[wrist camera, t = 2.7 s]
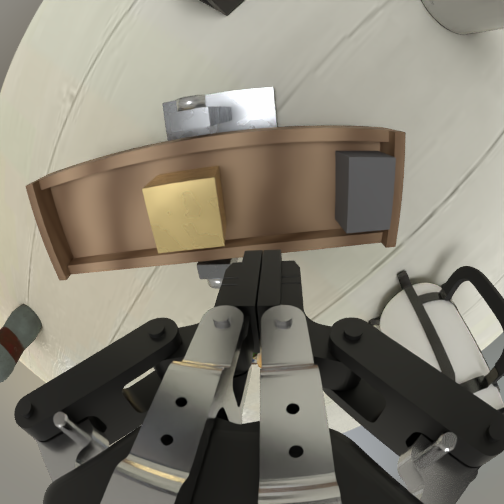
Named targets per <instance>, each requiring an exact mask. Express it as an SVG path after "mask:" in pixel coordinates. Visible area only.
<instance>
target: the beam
mask: <svg viewBox="0 0 504 504" xmlns="http://www.w3.org/2000/svg"><path fill="white" fill-rule="evenodd" d="M335 151H380V152H382V153H385V154H388V155H390V156H393V157H395V158H396V165H395V182H394V195H393V206H392V215H391V223H390V229H389V230H378V231H367V232H357V233H346V232H345V231H344V230H343V228H342V227H341V226H340V225H339V223H338V222H337V221H336V220H335ZM404 162H405V132H401V131H397V130H392V129H388V128H383V127H368V126H289V127H272V128H259V129H248V130H238V131H229V132H221V133H213V134H206V135H200V136H193V137H187V138H182V139H176V140H171V141H166V142H161V143H156V144H151V145H146V146H142V147H138V148H133V149H129V150H125V151H121V152H118V153H114V154H110V155H106V156H103V157H99V158H96V159H93V160H89V161H86V162H83V163H80V164H76V165H73V166H70V167H67V168H64V169H62V170H59V171H56V172H53V173H50V174H48V175H46V176H44V177H42V178H40V179H38V180H36V181H34V182H32V183H30V184H29V185H27V186H26V189H27V193H28V197H29V200H30V204H31V207H32V210H33V213H34V216H35V220H36V222H37V225H38V228H39V231H40V234H41V237H42V239H43V242H44V245H45V247H46V250H47V252H48V255H49V257H50V260H51V262H52V264H53V267H54V269H55V271H56V273H57V276H58V278H59V280H67V279H68V277H69V276H70V275H71V274H79V273H89V272H100V271H110V270H120V269H130V268H140V267H150V266H160V265H170V264H180V263H190V262H200V261H210V260H219V259H229V258H239V257H244V252H245V251H248V250H263V251H264V250H276V249H281V253H287V252H296V251H305V250H315V249H324V248H334V247H343V246H352V245H361V244H370V243H380V242H381V243H382V244H383V245H384V246H385V247H386V248H387V247H395V245H396V239H397V232H398V226H399V218H400V210H401V201H402V191H403V178H404ZM211 166H219V171H220V179H221V186H222V194H223V201H224V208H225V215H226V222H227V226H226V237H225V246H220V247H211V248H202V249H193V250H184V251H175V252H166V253H158V250H157V247H156V243H155V239H154V236H153V232H152V228H151V224H150V220H149V216H148V212H147V208H146V204H145V199H144V195H143V191H142V188H144V187H145V186H146V185H147V184H148V183H149V182H150V181H151V180H153V179H154V178H155V177H156V176H157V175H160V174H166V173H172V172H178V171H184V170H190V169H197V168H204V167H211Z"/></svg>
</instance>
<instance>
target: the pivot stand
mask: <svg viewBox="0 0 504 504" xmlns="http://www.w3.org/2000/svg"><path fill="white" fill-rule="evenodd" d="M163 111H164V118H165V125H166V132H167V139H168V141H171V140H176V139H182V138H187V137H193V136H200V135H206V134H213V133H221V132H229V131H238V130H248V129H259V128H272V127H277V122H276V110H275V99H274V89H273V87H267V88H255V89H244V90H235V91H227V92H220V93H213V94H207V95H195V96H189V97H184V98H179V99H177V100H175V101H171V102H166V103H163ZM237 259H238V258H229V259H219V260H210V261H200V262H198V263H197V269H198V273H199V277H200V279H207V280H208V284H209V286H210V287H212V288H220V287H221V283H222V280H223V277H224V274H225V271H226V269H227V268H228V267H229V266H230V265H231V264H232V263H237Z"/></svg>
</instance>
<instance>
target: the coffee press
mask: <svg viewBox="0 0 504 504" xmlns="http://www.w3.org/2000/svg"><path fill="white" fill-rule="evenodd" d="M397 277H398V279H399V282H400V284H401V287H402V291H401V292H399V293H398V294H397V295H395V296H394V297H393V298H392V299H391V300H390V301H389V303H388V304H387V305H386V307H385V308H384V310H383V312H382V315H381V318H380V320H378V319H371V320H370V321H369V324H370V325H372V326H373V325H375V324H378V325H380V330H381V332H382V333H384V334H385V335H387V336H388V337H390V338H391V339H393V340H394V341H396V342H397V343H399V344H400V345H402V346H403V347H405V348H406V349H408V350H409V351H411V352H412V353H414V354H415V355H417V356H418V357H420V358H421V359H423V360H424V361H426V362H427V363H429V364H430V365H431V366H433V367H434V368H436V369H437V370H439V371H440V372H442V373H443V374H445V375H446V376H448V377H449V378H451V379H452V380H454V381H455V382H457V383H458V384H460V385H461V386H462V387H464V388H465V389H467V390H468V391H470V392H471V393H473V394H474V395H476V396H477V397H479V398H480V399H482V400H483V401H484V402H486V403H487V404H489V405H490V406H492V407H493V408H495V409H496V410H498V411H499V412H501V413H502V414H503V415H504V403H503V401H502V399H501V396H500V393H499V392H500V389H499V386H498V384H497V381H498V380H499V379H500V378H501V377H502V376H504V349H503V352H502V355H501V356H500V358H499V360H498V361H497V362H496V364H495V366H494V368H493V369H492V370H491V371H490V369H489V367H488V365H487V363H486V361H485V359H484V357H483V355H482V353H481V351H480V349H479V347H478V345H477V343H476V341H475V339H474V337H473V336H472V334H471V332H470V330H469V328H468V327H467V325H466V323H465V322H464V320H463V318H462V316H461V315H460V313H459V311H458V309H457V307H456V306H455V304H454V302H453V301H452V299H451V298H452V296H453V294H454V293H455V291H456V290H457V288H458V287H459V285H460V284H461V283H462V282H464V281H470V282H471V283H472V284H473V285H474V286H475V288H476V289H477V290H478V292H479V293H480V294H481V296H482V297H483V298H484V300H485V301H486V303H487V304H488V305H489V307H490V308H491V310H492V311H493V313H494V314H495V316H496V317H497V319H498V320H499V322H500V324H501V326H502V328H503V331H504V298H503V297H502V296H501V294H500V293H499V292H498V291H497V289H496V288H495V287H494V286H493V284H492V283H491V282H490V281H489V280H488V278H487V277H486V276H485V275H484V274H483V273H482V272H481V271H479V270H478V269H475V268H473V267H470V266H463V267H460V268H459V269H457V270H456V271H455V272H454V273H453V274H452V275H451V277H450V278H449V279H448V281H447V282H446V283H444V284H443V285H442V286H441V287H439V286H438V285H435V284H432V283H419V284H415V285H412V284H411V282H410V280H409V277H408V275H407V273H406V271H404V272H402V273H400V274H398V275H397ZM376 329H377V328H376ZM477 474H478V471H477V473H476V474H475V476H474V477H473V479H472V480H471V482H472V481H473V480H474V479H475V478H476V476H477Z"/></svg>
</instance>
